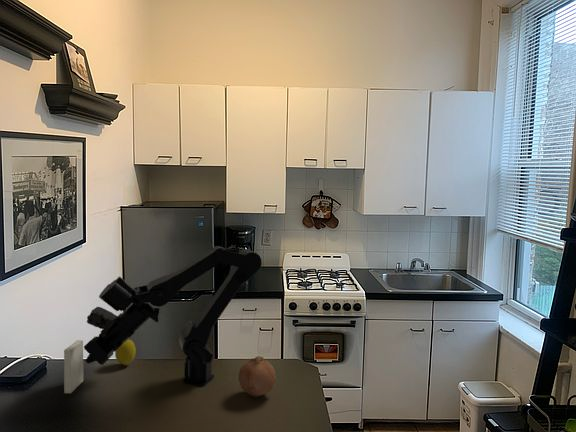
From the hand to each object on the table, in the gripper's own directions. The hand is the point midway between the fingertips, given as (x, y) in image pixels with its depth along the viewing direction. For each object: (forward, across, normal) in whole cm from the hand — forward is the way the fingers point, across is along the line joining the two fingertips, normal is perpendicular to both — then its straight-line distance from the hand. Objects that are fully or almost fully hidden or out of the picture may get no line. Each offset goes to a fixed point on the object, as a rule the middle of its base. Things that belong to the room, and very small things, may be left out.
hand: (87, 361), depth 116 cm
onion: (-26, +2, +36) cm, 44 cm away
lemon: (+1, -14, +8) cm, 16 cm away
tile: (+7, 0, +2) cm, 7 cm away
